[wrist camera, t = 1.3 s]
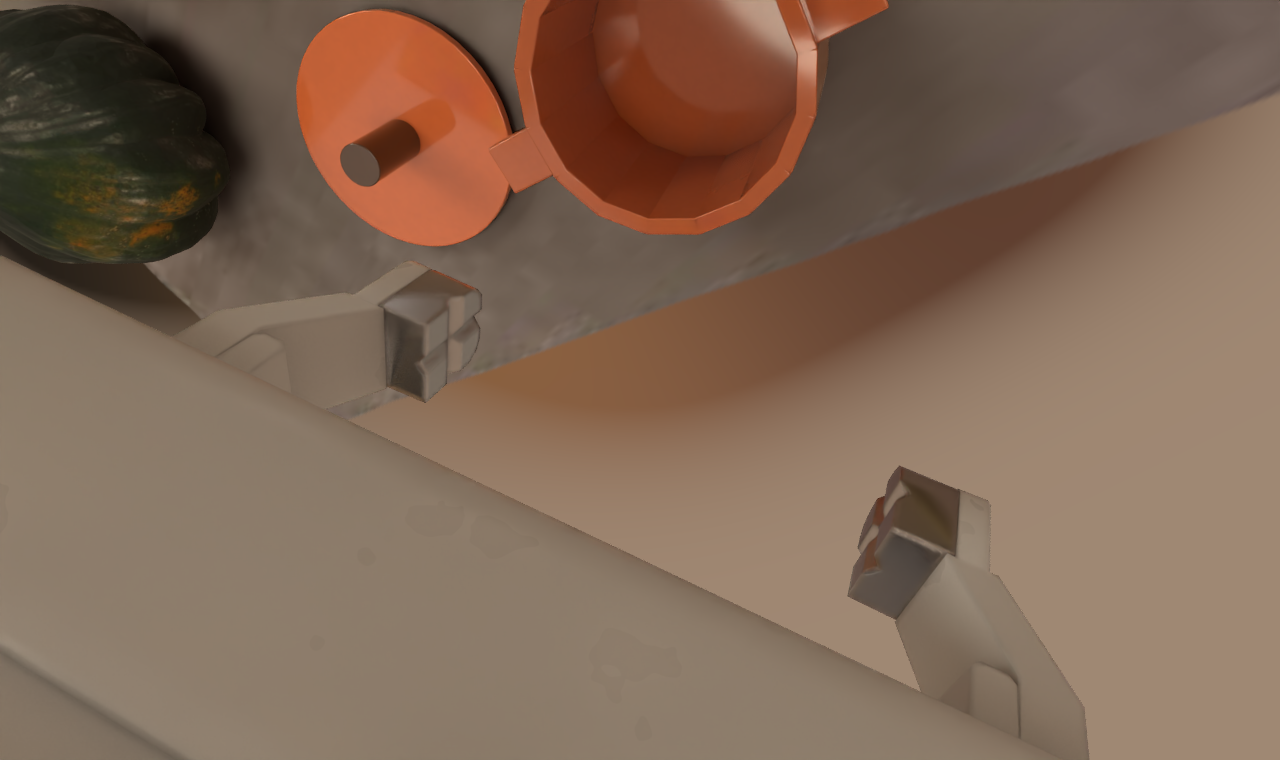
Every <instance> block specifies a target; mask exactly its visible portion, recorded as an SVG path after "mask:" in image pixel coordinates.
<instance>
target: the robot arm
mask: <svg viewBox="0 0 1280 760" xmlns="http://www.w3.org/2000/svg"><path fill="white" fill-rule="evenodd" d="M481 309H482V294H481V293H480V292H479V290H478V289H476V288H474V287H471V286H469V285H467V284H465V283H462V282H460V281H458V280H456V279H453V278H451V277H449V276H447V275H444V274H442V273H440V272H438V271H435V270H432V269H430V268H428V267H426V266H423V265H421V264H419V263H416V262H414V261H405V262H404V263H402V264H400V265H399V266H397V267H396V268H394V269H393V270H391V271H390V272H388V273H387V274H385V275H384V276H382V277H380V278H379V279H377V280H376V281H374V282H373V283H371V284H370V285H368V286H367V287H365V288H363V289H362V290H360V291H359V292H357V293H356V294H354V295H352V294H349V293H347V292H345V293H338V294H331V295H324V296H317V297H309V298H302V299H295V300H288V301H280V302H273V303H266V304H259V305H252V306H244V307H237V308H230V309H223V310H218V311H217V312H215V313H213V314H211V315H209V316H208V317H206V318H204V319H202V320H201V321H199V322H197V323H195V324H193V325H192V326H190V327H188V328H186V329H184V330H183V331H181V332H179V333H177V334H176V335H174V336H172V337H171V336H168V335H166V334H164V333H162V332H160V331H158V330H156V329H154V328H152V327H150V326H148V325H145V324H143V323H141V322H139V321H137V320H135V319H133V318H131V317H129V316H126V315H124V314H122V313H120V312H118V311H116V310H114V309H112V308H110V307H108V306H105V305H103V304H101V303H99V302H97V301H95V300H93V299H90V298H89V297H86V296H84V295H82V294H80V293H78V292H76V291H74V290H72V289H70V288H68V287H65V286H63V285H61V284H59V283H57V282H55V281H53V280H50V279H48V278H46V277H44V276H42V275H40V274H38V273H36V272H34V271H32V270H30V269H28V268H26V267H24V266H22V265H20V264H18V263H16V262H14V261H12V260H10V259H7V258H5V257H3V256H0V760H1089V751H1088V741H1087V730H1086V719H1085V710H1084V706H1083V704H1082V703H1081V702H1080V700H1079V698H1078V697H1077V695H1076V694H1075V692H1074V691H1073V689H1072V688H1071V686H1070V685H1069V683H1068V682H1067V680H1066V679H1065V677H1064V675H1063V674H1062V673H1061V671H1060V669H1059V668H1058V666H1057V665H1056V663H1055V662H1054V660H1053V659H1052V657H1051V655H1050V654H1049V653H1048V651H1047V649H1046V648H1045V646H1044V645H1043V643H1042V642H1041V640H1040V639H1039V637H1038V636H1037V634H1036V633H1035V631H1034V629H1033V628H1032V627H1031V625H1030V623H1029V622H1028V620H1027V619H1026V617H1025V616H1024V615H1023V613H1022V611H1021V610H1020V608H1019V607H1018V605H1017V603H1016V602H1015V600H1014V599H1013V597H1012V596H1011V594H1010V593H1009V591H1008V590H1007V588H1006V587H1005V585H1004V584H1003V582H1002V581H1001V579H1000V577H999V576H997V575H995V574H993V573H990V520H991V517H990V516H991V514H990V513H991V509H990V507H991V505H990V503H989V502H988V500H985V499H983V498H980V497H978V496H975V495H972V494H970V493H967V492H965V491H962V490H960V489H954V488H952V487H950V486H947V485H945V484H943V483H940V482H938V481H935V480H933V479H930V478H928V477H926V476H923V475H921V474H918V473H916V472H913V471H911V470H909V469H906V468H904V467H901V466H899V467H898V468H897V469H896V470H895V471H894V473H893V474H892V476H891V477H890V479H889V481H888V484H887V489H886V494H885V496H883V497H881V498H878V499H877V500H876V502H875V504H874V505H873V507H872V509H871V511H870V513H869V515H868V517H867V519H866V522H865V524H864V526H863V529H862V533H861V536H860V540H859V544H858V549H859V551H860V553H861V556H860V557H859V559H858V560H857V562H856V564H855V565H854V567H853V572H852V577H851V582H850V587H849V592H848V597H850V598H852V599H854V600H856V601H858V602H860V603H862V604H864V605H867V606H869V607H871V608H873V609H875V610H877V611H879V612H881V613H883V614H885V615H887V616H889V617H891V618H893V619H895V620H896V621H895V624H896V626H897V629H898V632H899V634H900V637H901V640H902V642H903V645H904V648H905V650H906V653H907V656H908V658H909V661H910V664H911V666H912V669H913V671H914V674H915V677H916V680H917V682H918V685H919V687H920V690H921V692H920V691H918V690H916V689H914V688H911V687H909V686H907V685H905V684H903V683H901V682H899V681H897V680H895V679H892V678H890V677H888V676H886V675H884V674H882V673H880V672H878V671H876V670H873V669H871V668H869V667H867V666H865V665H863V664H861V663H859V662H857V661H855V660H852V659H850V658H848V657H846V656H844V655H842V654H840V653H838V652H835V651H833V650H831V649H829V648H827V647H825V646H823V645H821V644H818V643H816V642H814V641H812V640H810V639H808V638H806V637H803V636H801V635H799V634H797V633H795V632H793V631H791V630H788V629H786V628H784V627H782V626H780V625H778V624H776V623H774V622H771V621H769V620H767V619H765V618H763V617H761V616H759V615H757V614H755V613H753V612H751V611H749V610H746V609H744V608H742V607H740V606H738V605H736V604H734V603H732V602H730V601H728V600H725V599H723V598H721V597H719V596H717V595H715V594H713V593H711V592H709V591H707V590H704V589H702V588H700V587H698V586H696V585H694V584H692V583H690V582H688V581H685V580H683V579H681V578H679V577H677V576H675V575H672V574H671V573H668V572H666V571H664V570H662V569H660V568H658V567H656V566H654V565H652V564H650V563H648V562H646V561H643V560H641V559H639V558H637V557H635V556H633V555H631V554H629V553H626V552H624V551H622V550H620V549H618V548H616V547H614V546H612V545H610V544H608V543H605V542H603V541H601V540H599V539H597V538H595V537H593V536H591V535H589V534H586V533H584V532H582V531H580V530H578V529H576V528H573V527H572V526H570V525H567V524H565V523H563V522H561V521H559V520H557V519H555V518H552V517H550V516H548V515H546V514H544V513H542V512H540V511H538V510H536V509H533V508H531V507H529V506H527V505H525V504H523V503H521V502H519V501H516V500H514V499H512V498H510V497H508V496H506V495H504V494H502V493H500V492H497V491H495V490H493V489H491V488H489V487H487V486H485V485H483V484H481V483H478V482H476V481H474V480H472V479H470V478H468V477H466V476H464V475H461V474H459V473H457V472H455V471H453V470H451V469H449V468H447V467H445V466H442V465H440V464H438V463H436V462H434V461H432V460H430V459H428V458H426V457H424V456H422V455H419V454H417V453H415V452H413V451H411V450H409V449H407V448H405V447H402V446H400V445H398V444H396V443H394V442H392V441H390V440H388V439H386V438H383V437H381V436H379V435H377V434H375V433H373V432H371V431H369V430H366V429H365V428H362V427H360V426H358V425H356V424H354V423H352V422H350V421H348V420H346V419H344V418H341V417H339V416H337V415H335V414H333V413H331V412H329V411H327V410H325V409H328V408H331V407H334V406H337V405H340V404H343V403H346V402H349V401H352V400H355V399H358V398H361V397H364V396H367V395H370V394H373V393H375V392H378V391H381V390H384V389H386V388H387V387H389V388H391V389H394V390H396V391H398V392H401V393H403V394H405V395H408V396H410V397H413V398H415V399H417V400H420V401H422V402H424V403H426V402H427V401H428V400H429V399H431V398H432V397H433V396H434V395H435V394H436V393H437V392H438V391H439V390H440V389H441V388H443V387H444V386H445V385H446V384H447V374H451V373H455V372H459V371H461V370H462V369H463V368H464V367H465V366H466V365H467V364H468V363H469V362H470V360H471V358H472V356H473V355H474V353H475V351H476V349H477V346H478V342H479V338H480V327H479V325H478V323H477V321H476V319H475V317H474V315H475V314H477V313H478V312H479V311H480V310H481Z"/></svg>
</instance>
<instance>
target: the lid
mask: <svg viewBox="0 0 1280 760" xmlns="http://www.w3.org/2000/svg"><path fill="white" fill-rule="evenodd" d="M297 109H298V116H299V121H300V126H301V130H302V133H303V136H304V139H305V142H306V145H307V147H308V150H309V152H310V154H311V157H312V159H313V160H314V162H315V164H316V166H317V168H318V170H319V171H320V173H321V174H322V176H323V177H324V179H325V180H326V182H327V183H328V185H329V186H330V187H331V189H332V190H333V191H334V192H335V194H336V195H337V196H338V197H339V198H340V199H341V200H342V201H343V202H344V203H345V204H346V205H347V206H348V207H349V208H350V209H351V210H352V211H353V212H354V213H355V214H357V215H358V216H359V217H360V218H361V219H363V220H364V221H366V222H367V223H368V224H370V225H371V226H373V227H375V228H376V229H378V230H380V231H381V232H383V233H385V234H387V235H390V236H392V237H394V238H396V239H399V240H402V241H405V242H408V243H412V244H417V245H423V246H447V245H452V244H457V243H460V242H463V241H465V240H468V239H470V238H472V237H473V236H475V235H477V234H479V233H480V232H481V231H482V230H484V229H485V228H486V227H487V226H488V225H489V224H490V223H491V222H492V221H493V220H494V219H495V218H496V216H497V215H498V214H499V213H500V211H501V209H502V208H503V206H504V204H505V202H506V200H507V198H508V195H509V193H510V190H511V186H510V184H509V183H508V181H507V180H506V178H505V176H504V175H503V173H502V171H501V170H500V168H499V167H498V165H497V163H496V162H495V160H494V158H493V157H492V155H491V154H490V152H489V148H490V147H491V146H493V145H494V144H495V143H497V142H498V141H500V140H502V139H504V138H506V137H507V136H509V135H511V134H512V131H511V127H510V123H509V120H508V116H507V114H506V111H505V109H504V106H503V103H502V101H501V99H500V97H499V95H498V93H497V91H496V89H495V87H494V85H493V84H492V82H491V81H490V79H489V78H488V76H487V75H486V73H485V72H484V70H483V69H482V68H481V66H480V65H479V64H478V63H477V61H476V60H475V59H474V58H473V57H472V55H471V54H470V53H469V52H467V51H466V50H465V49H464V48H463V47H462V46H461V45H460V44H459V43H458V42H457V41H456V40H454V39H453V38H452V37H451V36H449V35H448V34H447V33H445V32H444V31H442V30H441V29H439V28H438V27H436V26H434V25H433V24H431V23H429V22H427V21H425V20H423V19H420V18H418V17H416V16H414V15H410V14H407V13H404V12H400V11H395V10H388V9H367V10H361V11H356V12H353V13H350V14H347V15H345V16H342V17H339V18H337V19H336V20H334V21H332V22H331V23H329V24H328V25H326V26H325V27H324V28H323V29H322V30H321V31H320V32H319V33H318V34H317V35H316V36H315V38H314V39H313V40H312V42H311V43H310V44H309V46H308V48H307V50H306V52H305V54H304V56H303V59H302V62H301V66H300V69H299V74H298V80H297Z"/></svg>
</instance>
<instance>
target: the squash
mask: <svg viewBox="0 0 1280 760" xmlns="http://www.w3.org/2000/svg"><path fill="white" fill-rule="evenodd" d="M206 117H207V116H206V109H205V107H204V104H203V101H202V99H201V98H200V97H199V96H198V95H197V94H196V93H194V92H192V91H190V90H188V89H186V88H184V87H182V86H179V81H178V79H177V77H176V74H175V73H174V71H173V70H172V68H171V67H170V65H169V64H168V63H167V61H166V60H165V59H164V58H163V57H162V56H160V55H159V54H158V53H156V52H155V51H153V50H152V49H150V48H148V47H146V46H145V44H144V43H143V42H142V40H141V39H140V38H139V37H138V36H137V34H136V33H135V32H133V31H132V30H131V29H130V28H129V27H128V26H127V25H126V24H124V23H123V22H121V21H120V20H119V19H117V18H116V17H114V16H112V15H111V14H109V13H107V12H105V11H101V10H98V9H94V8H88V7H82V6H75V5H54V6H44V7H38V8H33V9H28V10H17V9H11V10H4V11H0V230H1V231H2V232H3V233H5V234H6V235H8V236H9V237H11V238H12V239H14V240H15V241H17V242H18V243H19V244H21V245H23V246H24V247H26V248H27V249H29V250H31V251H32V252H34V253H36V254H39V255H41V256H43V257H46V258H48V259H51V260H54V261H58V262H62V263H108V264H109V263H110V264H120V263H121V264H123V263H147V262H155V261H159V260H163V259H165V258H167V257H170V256H172V255H174V254H177V253H179V252H182V251H184V250H187V249H189V248H191V247H192V246H194V245H195V244H196V243H197V242H198V241H200V240H201V239H202V238H203V237H204V236H205V235H206V234H207V233H208V232H209V231H210V229H211V228H212V226H213V224H214V222H215V219H216V216H217V213H218V195H219V194H220V193H221V192H222V191H223V189H224V188H225V186H226V185H227V183H228V181H229V179H230V168H229V164H228V160H227V156H226V153H225V150H224V149H223V147H222V146H221V144H220V143H219V142H218V141H217V140H216V139H215V138H214V137H213V136H212V135H210V134H208V133H207V132H204V131H202V130H203V128H204V126H205V123H206Z"/></svg>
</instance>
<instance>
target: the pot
mask: <svg viewBox="0 0 1280 760" xmlns="http://www.w3.org/2000/svg"><path fill="white" fill-rule="evenodd" d="M523 7H524V8H523V11H522V18H521V24H520V31H519V38H518V44H517V51H516V57H515V64H514V68H515V69H514V73H515V78H516V83H517V88H518V93H519V98H520V103H521V108H522V113H523V118H524V123H525V127H524V128H522V129H520V130H518V131H516V132H515V133H513V134H511V135H509V136H507V137H506V138H504V139H502V140H500V141H498V142H497V143H495V144H494V145H493V146H491V147H490V148H489V152H490V154H491V155H492V157H493V158H494V160H495V162H496V163H497V165H498V167H499V168H500V170H501V171H502V173H503V175H504V176H505V178H506V180H507V181H508V183H509V184H510V186H511V188H512V189H513V191H514V193H519V192H521V191H523V190H525V189H527V188H529V187H531V186H533V185H535V184H537V183H539V182H541V181H543V180H545V179H547V178H549V177H551V176H554V178H556V180H557V181H558V182H560V183H561V184H562V185H563V186H564V187H565V188H566V189H568V190H569V191H570V192H571V193H572V194H573V195H575V196H576V197H577V198H578V199H579V200H580V201H582V202H583V203H584V204H585V205H586V206H587V207H589V208H590V209H591V210H592V211H593V212H594V213H595V214H597V215H598V216H601V217H603V218H606V219H608V220H611V221H614V222H616V223H619V224H621V225H624V226H627V227H629V228H632V229H634V230H637V231H639V232H642V233H645V234H702V233H705V232H707V231H710V230H712V229H715V228H717V227H720V226H722V225H725V224H727V223H730V222H732V221H735V220H737V219H740V218H742V217H745V216H747V215H749V214H750V213H752V212H753V211H754V210H755V209H756V208H757V207H758V206H759V205H760V204H761V203H762V202H763V201H764V200H765V199H766V198H767V197H768V196H769V195H770V194H771V193H772V192H773V191H774V190H775V189H776V188H778V187H779V186H780V185H781V184H782V183H783V182H784V181H785V180H786V179H787V178H788V177H789V176H790V174H791V173H792V172H793V169H794V167H795V165H796V162H797V160H798V158H799V156H800V153H801V151H802V149H803V146H804V144H805V142H806V139H807V137H808V135H809V132H810V130H811V128H812V126H813V123H814V121H815V119H816V115H817V111H818V106H819V102H820V98H821V93H822V89H823V85H824V81H825V76H826V72H827V68H828V54H829V38H830V37H832V36H834V35H836V34H838V33H840V32H842V31H844V30H846V29H848V28H850V27H852V26H854V25H856V24H858V23H860V22H862V21H864V20H866V19H868V18H870V17H872V16H874V15H876V14H878V13H880V12H882V11H884V10H886V9H888V7H889V1H888V0H526V2H525V4H524V5H523Z"/></svg>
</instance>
